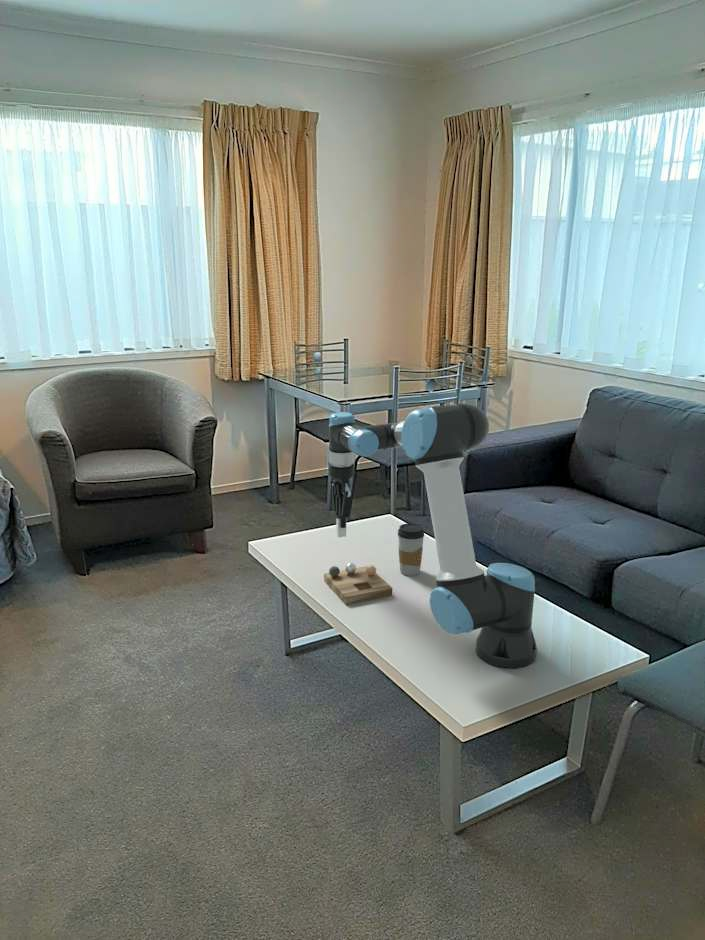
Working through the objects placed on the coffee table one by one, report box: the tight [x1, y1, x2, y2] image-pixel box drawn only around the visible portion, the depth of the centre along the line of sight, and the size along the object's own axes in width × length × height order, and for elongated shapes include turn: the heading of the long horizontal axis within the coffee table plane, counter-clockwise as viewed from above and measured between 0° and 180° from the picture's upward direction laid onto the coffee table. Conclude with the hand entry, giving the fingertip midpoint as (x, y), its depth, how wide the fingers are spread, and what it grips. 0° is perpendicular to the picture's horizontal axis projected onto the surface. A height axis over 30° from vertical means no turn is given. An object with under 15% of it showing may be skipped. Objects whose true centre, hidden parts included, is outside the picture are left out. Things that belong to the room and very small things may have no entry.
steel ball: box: [344, 562, 357, 574], centre depth 228 cm, size 3×3×3 cm
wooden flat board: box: [323, 565, 393, 605], centre depth 224 cm, size 17×15×2 cm
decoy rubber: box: [328, 565, 341, 577], centre depth 226 cm, size 3×3×3 cm
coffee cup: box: [397, 522, 425, 577], centre depth 234 cm, size 8×8×15 cm
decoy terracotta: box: [366, 564, 377, 576], centre depth 227 cm, size 3×3×3 cm
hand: (341, 536), depth 232 cm, fingers closed
